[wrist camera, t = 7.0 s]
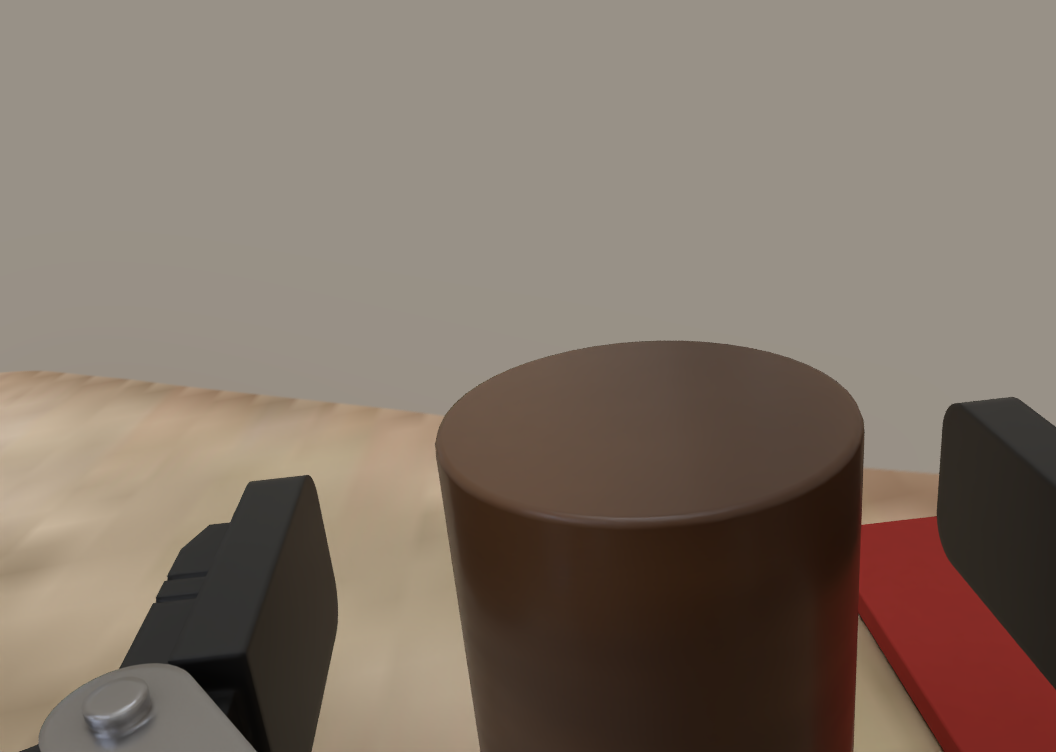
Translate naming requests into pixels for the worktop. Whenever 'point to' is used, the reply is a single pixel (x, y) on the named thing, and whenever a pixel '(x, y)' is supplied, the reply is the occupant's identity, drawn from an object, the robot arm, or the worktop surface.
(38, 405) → the worktop surface
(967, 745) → the red pad
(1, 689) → the worktop surface
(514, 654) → the roller
